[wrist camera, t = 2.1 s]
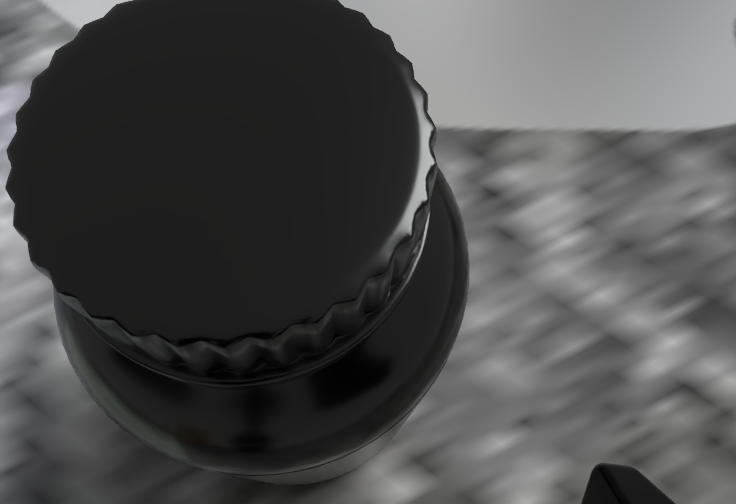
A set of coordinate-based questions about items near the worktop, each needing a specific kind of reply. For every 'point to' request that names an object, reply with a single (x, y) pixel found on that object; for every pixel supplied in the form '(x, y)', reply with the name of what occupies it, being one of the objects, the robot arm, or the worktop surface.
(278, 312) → the supplement bottle
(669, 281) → the worktop surface
